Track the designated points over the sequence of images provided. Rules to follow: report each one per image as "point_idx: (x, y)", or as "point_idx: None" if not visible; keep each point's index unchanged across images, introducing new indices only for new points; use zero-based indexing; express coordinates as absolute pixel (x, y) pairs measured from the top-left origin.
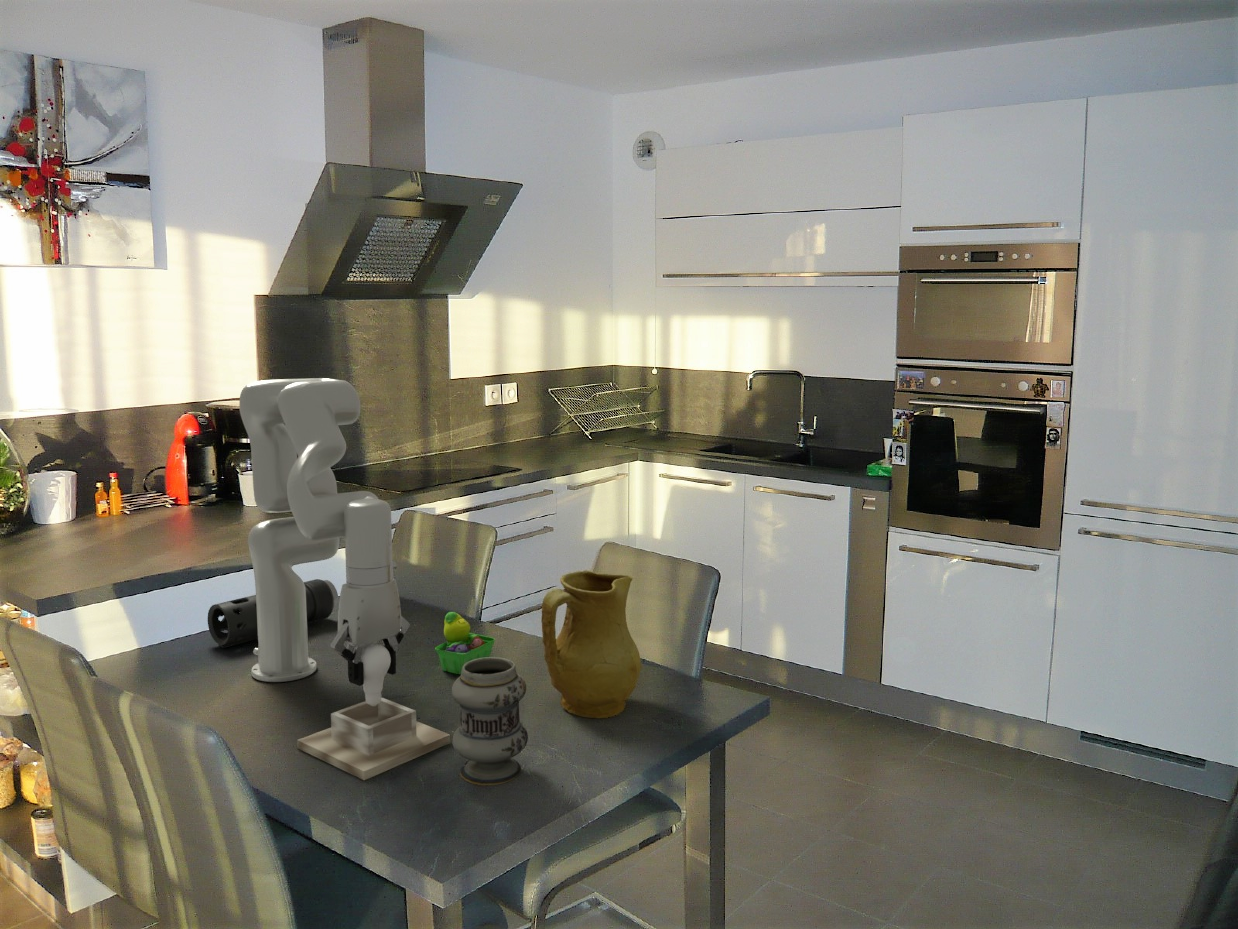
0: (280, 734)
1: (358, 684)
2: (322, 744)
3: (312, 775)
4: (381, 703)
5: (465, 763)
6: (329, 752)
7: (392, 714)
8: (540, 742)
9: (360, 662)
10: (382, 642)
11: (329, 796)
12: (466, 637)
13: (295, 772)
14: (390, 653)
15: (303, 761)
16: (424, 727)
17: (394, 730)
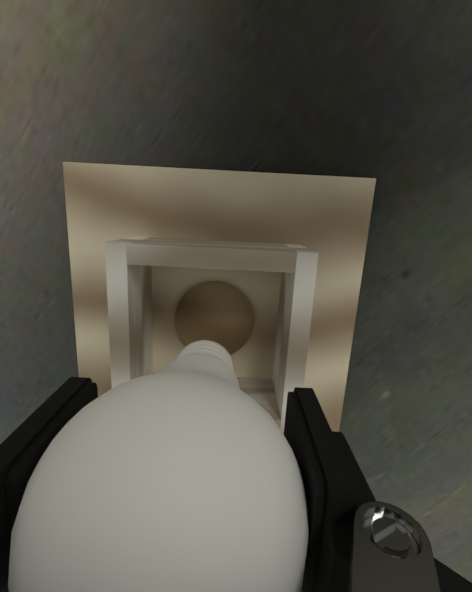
0: (91, 30)
1: None
2: (96, 246)
3: (26, 320)
4: (291, 291)
5: None
6: (81, 300)
7: (283, 337)
8: (434, 555)
9: (5, 590)
10: (353, 569)
11: (5, 418)
12: None
13: (4, 277)
14: (303, 589)
15: (47, 243)
16: (334, 373)
17: None
